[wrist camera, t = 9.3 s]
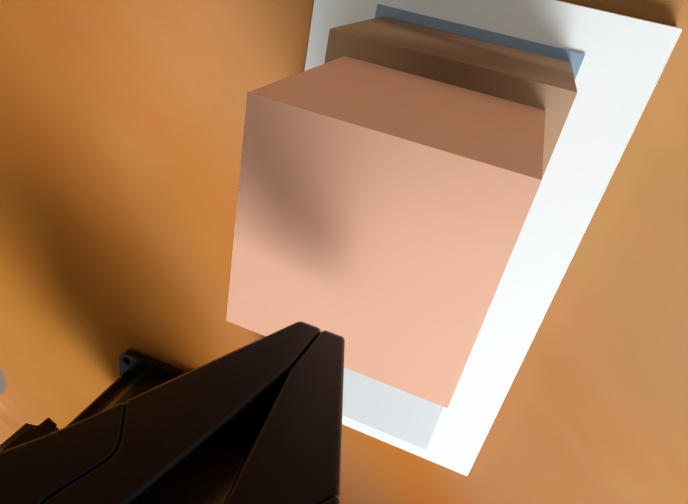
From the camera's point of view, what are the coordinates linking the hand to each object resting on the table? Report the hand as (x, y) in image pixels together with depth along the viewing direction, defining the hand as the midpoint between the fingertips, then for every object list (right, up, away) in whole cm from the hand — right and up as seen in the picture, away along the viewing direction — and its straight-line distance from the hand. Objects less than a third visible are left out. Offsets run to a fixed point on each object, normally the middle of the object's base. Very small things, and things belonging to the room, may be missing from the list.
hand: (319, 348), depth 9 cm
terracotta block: (+2, +4, +5) cm, 6 cm away
